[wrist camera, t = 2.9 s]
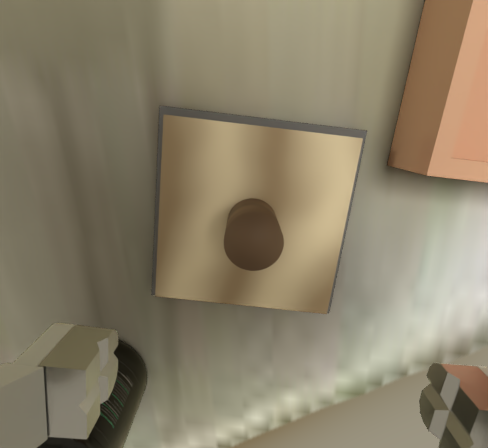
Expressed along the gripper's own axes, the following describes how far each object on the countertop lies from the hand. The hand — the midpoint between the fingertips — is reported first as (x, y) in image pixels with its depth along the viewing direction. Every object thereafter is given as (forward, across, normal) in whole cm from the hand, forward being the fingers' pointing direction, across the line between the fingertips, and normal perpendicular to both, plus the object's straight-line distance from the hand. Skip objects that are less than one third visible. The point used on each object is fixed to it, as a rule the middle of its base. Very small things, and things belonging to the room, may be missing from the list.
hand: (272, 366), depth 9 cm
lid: (+14, 0, 0) cm, 14 cm away
